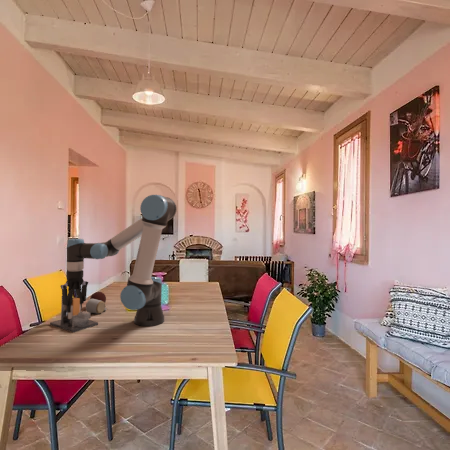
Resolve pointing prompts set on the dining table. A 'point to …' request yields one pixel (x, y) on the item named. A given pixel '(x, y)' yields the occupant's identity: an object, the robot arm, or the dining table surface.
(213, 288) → the dining table surface
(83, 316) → the grey rock
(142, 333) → the dining table surface
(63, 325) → the dark block with post
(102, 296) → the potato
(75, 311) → the orange rectangular block
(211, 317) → the dining table surface
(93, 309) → the ceramic mug
